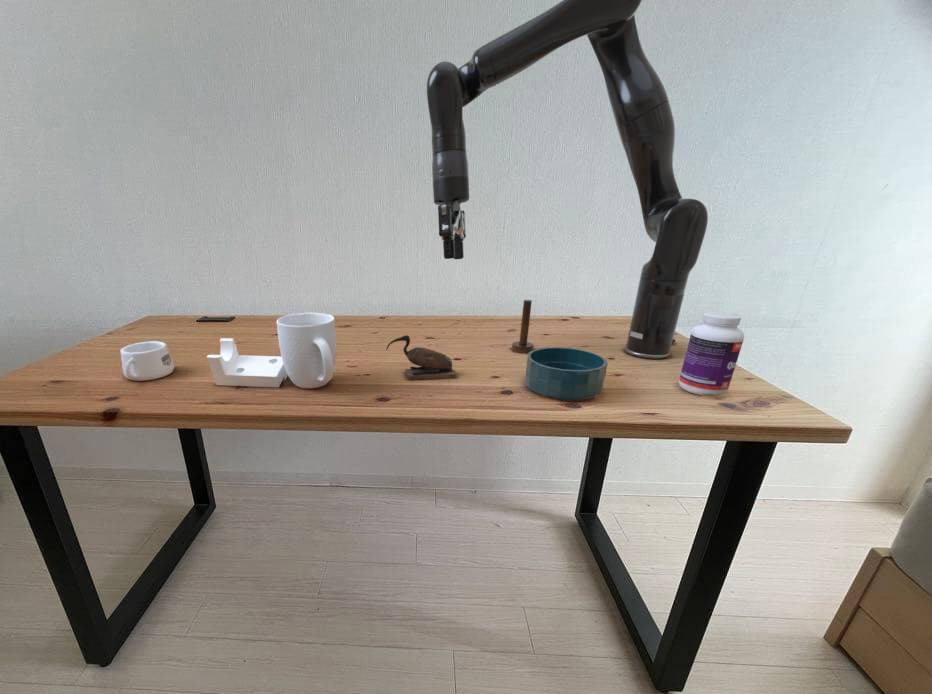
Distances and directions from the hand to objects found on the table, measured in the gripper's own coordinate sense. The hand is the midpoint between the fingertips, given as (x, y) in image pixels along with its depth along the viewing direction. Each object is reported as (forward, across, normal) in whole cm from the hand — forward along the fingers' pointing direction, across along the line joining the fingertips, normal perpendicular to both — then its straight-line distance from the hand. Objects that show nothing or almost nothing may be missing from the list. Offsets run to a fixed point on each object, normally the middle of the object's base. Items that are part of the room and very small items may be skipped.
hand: (454, 258), depth 100 cm
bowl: (+26, -12, -23) cm, 37 cm away
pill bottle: (+28, -4, -48) cm, 56 cm away
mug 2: (+22, -26, +24) cm, 42 cm away
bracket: (+21, -29, +36) cm, 51 cm away
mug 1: (+19, -34, +59) cm, 71 cm away
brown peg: (+22, +10, -13) cm, 28 cm away
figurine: (+23, -14, +5) cm, 28 cm away
